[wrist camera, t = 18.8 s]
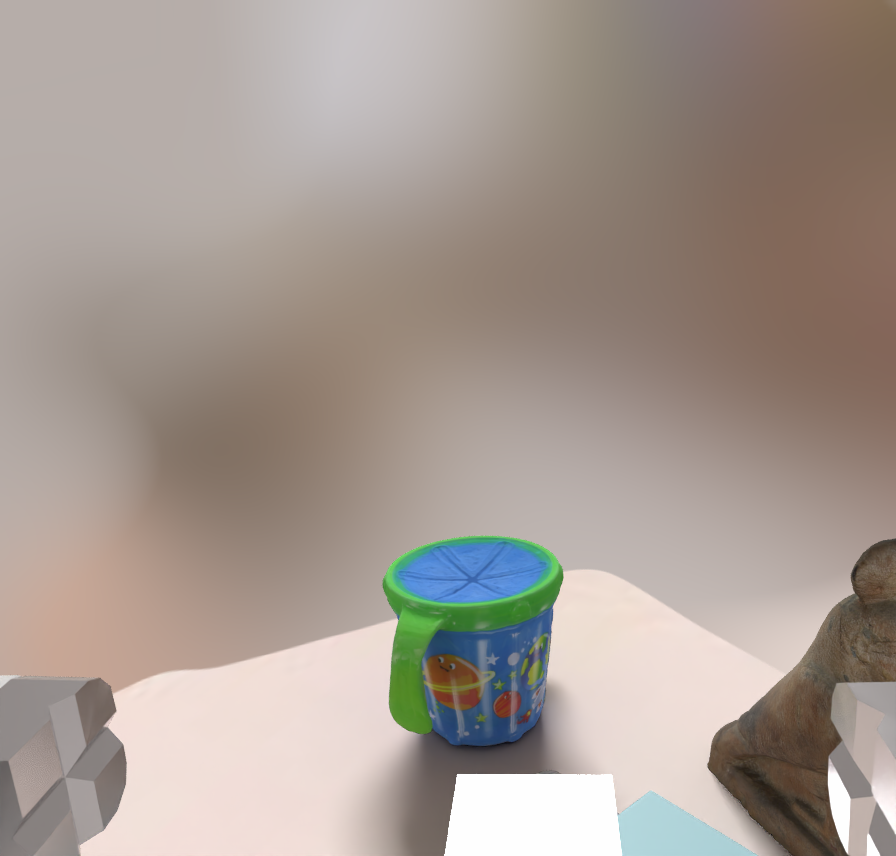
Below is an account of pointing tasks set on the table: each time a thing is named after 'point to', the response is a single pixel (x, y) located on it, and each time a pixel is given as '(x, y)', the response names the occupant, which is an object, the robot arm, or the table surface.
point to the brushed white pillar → (533, 816)
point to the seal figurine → (811, 715)
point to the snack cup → (471, 637)
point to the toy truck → (668, 831)
